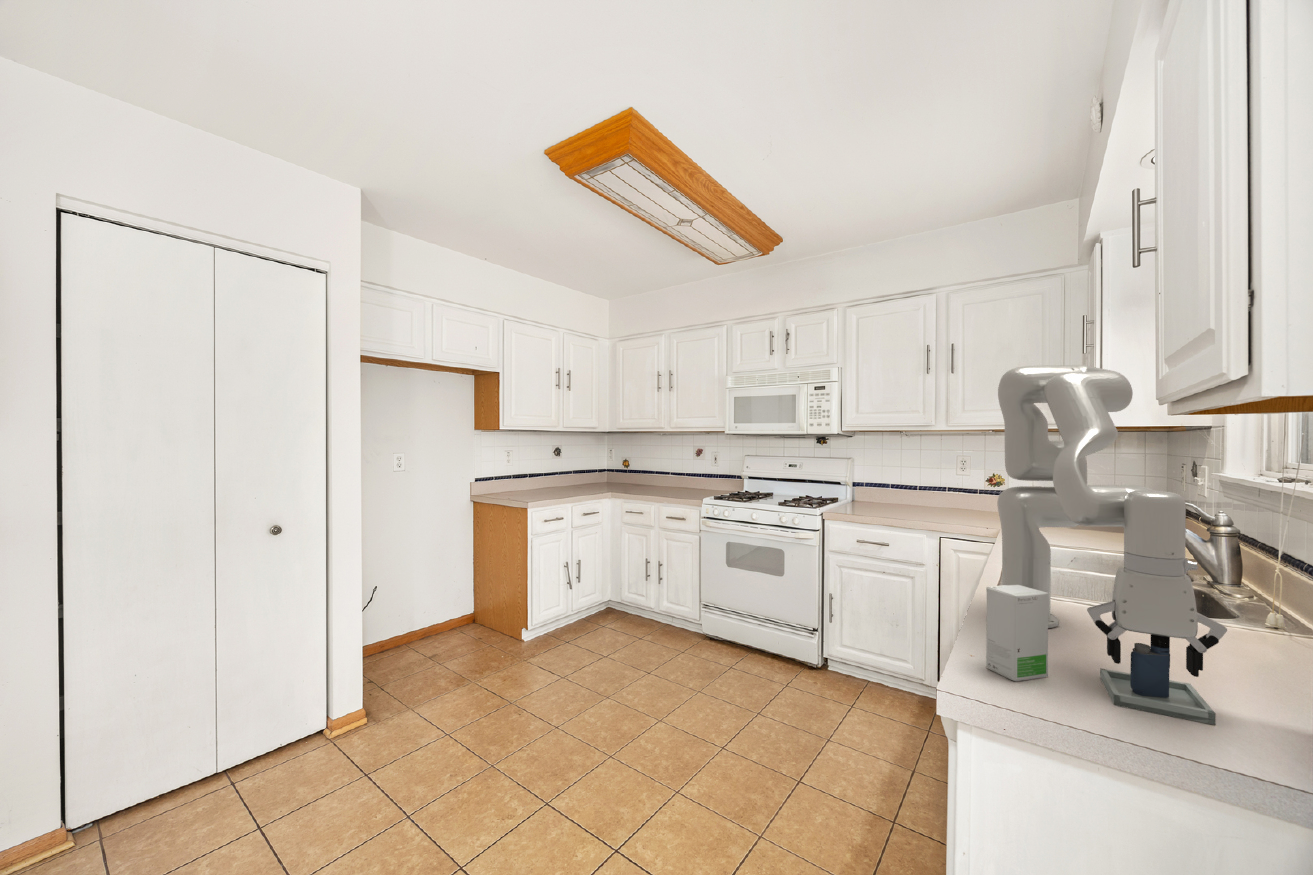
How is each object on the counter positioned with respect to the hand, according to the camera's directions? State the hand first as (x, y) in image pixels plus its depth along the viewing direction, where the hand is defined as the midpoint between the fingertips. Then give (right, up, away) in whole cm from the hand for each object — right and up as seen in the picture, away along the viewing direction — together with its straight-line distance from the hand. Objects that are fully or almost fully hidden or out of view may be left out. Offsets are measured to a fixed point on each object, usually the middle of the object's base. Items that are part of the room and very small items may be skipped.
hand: (1152, 666), depth 90 cm
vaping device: (0, -5, 0) cm, 5 cm away
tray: (0, -6, 0) cm, 6 cm away
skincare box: (-16, -6, +11) cm, 20 cm away
